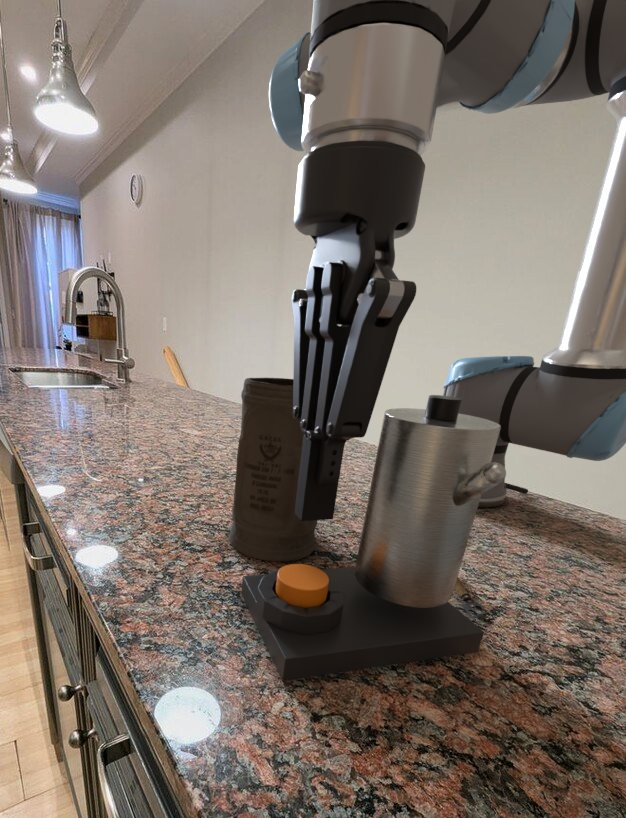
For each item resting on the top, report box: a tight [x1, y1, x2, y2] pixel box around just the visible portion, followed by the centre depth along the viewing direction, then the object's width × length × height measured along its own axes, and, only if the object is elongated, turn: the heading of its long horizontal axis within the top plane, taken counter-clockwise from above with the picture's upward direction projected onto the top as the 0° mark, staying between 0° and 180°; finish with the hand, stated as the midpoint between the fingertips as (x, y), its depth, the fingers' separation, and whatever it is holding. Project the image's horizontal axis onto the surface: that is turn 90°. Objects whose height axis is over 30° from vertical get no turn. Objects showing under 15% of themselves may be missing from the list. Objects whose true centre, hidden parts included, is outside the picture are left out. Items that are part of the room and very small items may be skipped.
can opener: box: [453, 577, 485, 623], centre depth 47 cm, size 9×2×1 cm, turn 171°
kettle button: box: [276, 563, 329, 608], centre depth 38 cm, size 4×4×2 cm
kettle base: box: [240, 566, 485, 682], centre depth 41 cm, size 18×12×4 cm, turn 105°
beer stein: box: [228, 377, 318, 563], centre depth 54 cm, size 15×11×20 cm
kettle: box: [354, 394, 507, 608], centre depth 38 cm, size 9×14×17 cm, turn 15°
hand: (313, 516), depth 36 cm, fingers closed
